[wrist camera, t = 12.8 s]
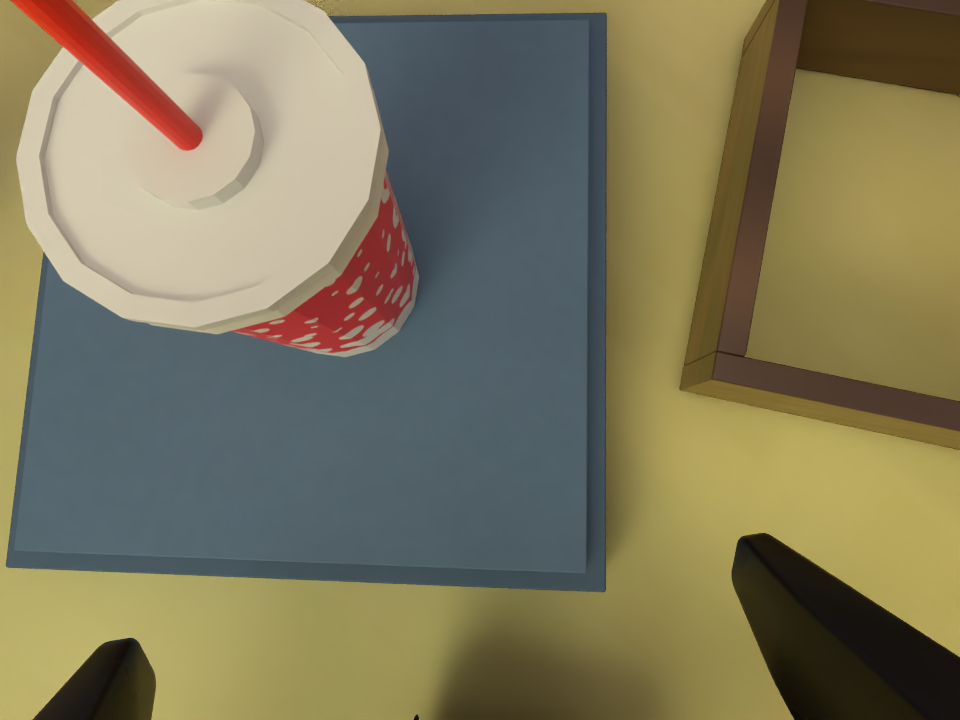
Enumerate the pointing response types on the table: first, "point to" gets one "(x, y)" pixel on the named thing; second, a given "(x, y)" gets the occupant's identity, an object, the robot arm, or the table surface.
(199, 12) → the beverage cup
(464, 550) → the blue square platform
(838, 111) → the table surface
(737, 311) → the open box
